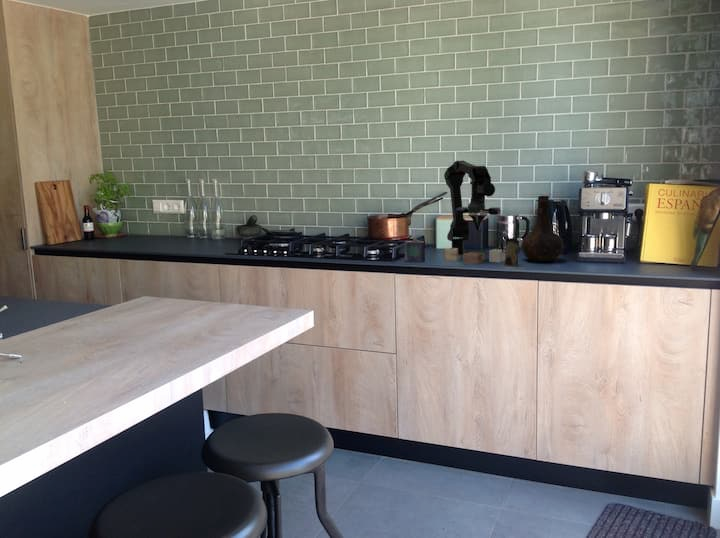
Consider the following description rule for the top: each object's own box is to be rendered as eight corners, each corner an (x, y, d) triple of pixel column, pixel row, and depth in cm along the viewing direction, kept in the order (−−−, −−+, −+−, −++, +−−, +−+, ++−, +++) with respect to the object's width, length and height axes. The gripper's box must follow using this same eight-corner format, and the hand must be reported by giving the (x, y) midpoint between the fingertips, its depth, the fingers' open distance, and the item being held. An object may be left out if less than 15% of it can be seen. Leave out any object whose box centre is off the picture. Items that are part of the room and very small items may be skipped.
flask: (404, 261, 298) (403, 237, 296) (406, 260, 300) (406, 236, 298) (423, 262, 294) (423, 238, 292) (426, 261, 296) (425, 237, 294)
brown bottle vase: (539, 265, 279) (540, 198, 274) (512, 259, 295) (513, 195, 290) (572, 261, 286) (574, 195, 281) (545, 255, 302) (546, 193, 298)
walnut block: (470, 260, 297) (470, 251, 296) (485, 262, 292) (485, 253, 291) (462, 263, 291) (462, 253, 291) (476, 264, 287) (477, 255, 286)
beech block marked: (446, 258, 302) (446, 247, 301) (457, 259, 301) (458, 247, 300) (445, 260, 297) (445, 249, 296) (456, 261, 296) (456, 249, 295)
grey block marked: (494, 260, 296) (495, 248, 295) (505, 261, 293) (505, 249, 292) (489, 261, 292) (489, 250, 291) (499, 262, 289) (499, 251, 288)
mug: (520, 265, 281) (521, 236, 279) (512, 266, 277) (513, 238, 275) (505, 263, 287) (505, 235, 285) (497, 264, 283) (497, 236, 281)
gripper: (451, 196, 289) (451, 232, 292) (494, 196, 281) (494, 233, 284) (459, 194, 299) (459, 229, 302) (501, 194, 291) (500, 230, 294)
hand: (477, 230), depth 295 cm, fingers closed
